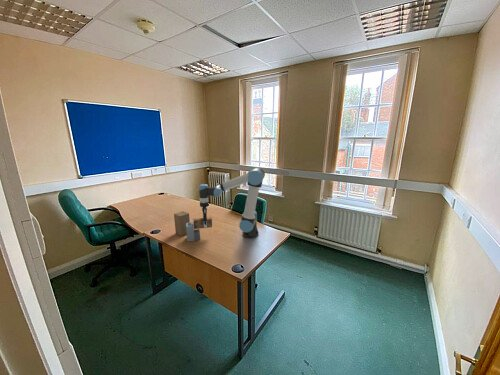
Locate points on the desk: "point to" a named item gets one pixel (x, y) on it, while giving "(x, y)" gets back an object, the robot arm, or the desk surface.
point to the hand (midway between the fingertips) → (205, 226)
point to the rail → (202, 223)
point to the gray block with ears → (192, 232)
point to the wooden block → (181, 222)
